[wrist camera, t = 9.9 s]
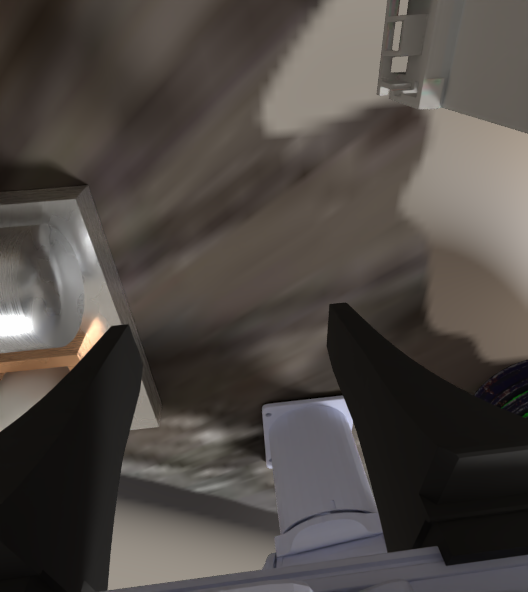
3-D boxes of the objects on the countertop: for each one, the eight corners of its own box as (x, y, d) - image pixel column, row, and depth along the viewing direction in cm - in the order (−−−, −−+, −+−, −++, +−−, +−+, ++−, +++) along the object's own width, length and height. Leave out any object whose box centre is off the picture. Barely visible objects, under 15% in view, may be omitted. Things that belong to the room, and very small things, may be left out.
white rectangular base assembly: (162, 405, 29) (146, 503, 23) (10, 422, 29) (-49, 527, 22) (88, 185, 19) (22, 256, 12) (-156, 204, 18) (-351, 289, 12)
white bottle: (88, 399, 25) (48, 509, 19) (21, 403, 25) (-40, 516, 19) (71, 354, 22) (19, 466, 17) (-4, 357, 22) (-85, 472, 16)
